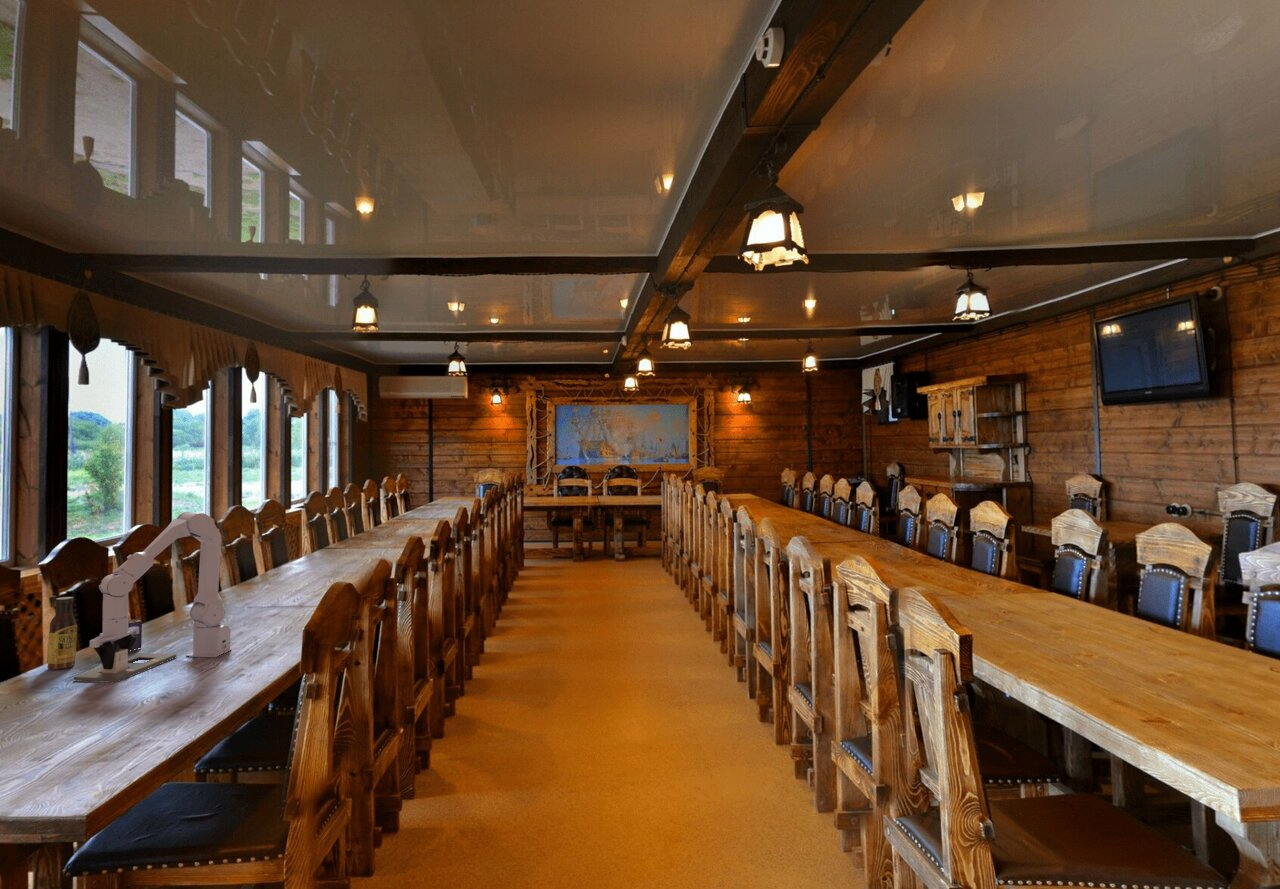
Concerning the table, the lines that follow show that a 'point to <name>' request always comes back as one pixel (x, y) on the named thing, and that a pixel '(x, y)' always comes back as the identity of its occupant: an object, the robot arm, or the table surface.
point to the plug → (118, 661)
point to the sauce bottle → (62, 636)
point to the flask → (138, 641)
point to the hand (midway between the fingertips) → (115, 666)
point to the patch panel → (132, 669)
